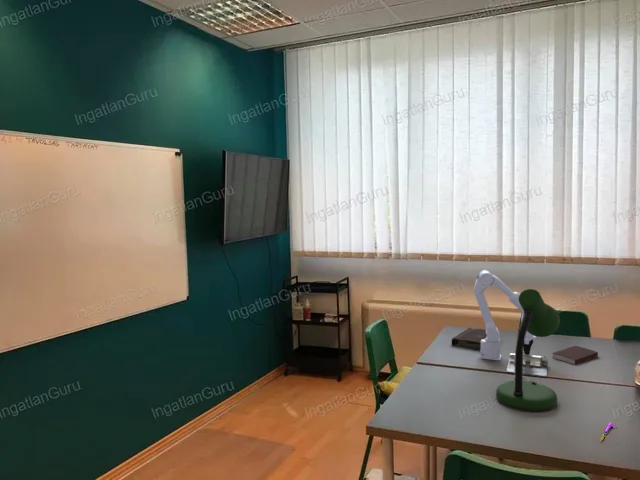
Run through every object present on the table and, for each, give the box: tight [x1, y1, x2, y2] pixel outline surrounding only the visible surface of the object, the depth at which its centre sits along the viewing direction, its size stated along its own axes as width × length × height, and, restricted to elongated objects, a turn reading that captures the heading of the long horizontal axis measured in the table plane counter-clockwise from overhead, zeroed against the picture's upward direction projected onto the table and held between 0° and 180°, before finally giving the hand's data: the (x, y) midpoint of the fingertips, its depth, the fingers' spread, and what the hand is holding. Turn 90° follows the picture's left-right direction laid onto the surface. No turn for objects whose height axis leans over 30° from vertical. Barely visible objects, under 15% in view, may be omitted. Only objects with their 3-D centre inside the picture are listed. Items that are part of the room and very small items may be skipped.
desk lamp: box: [495, 288, 561, 414], centre depth 207 cm, size 31×23×45 cm
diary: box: [451, 327, 487, 351], centre depth 284 cm, size 19×25×5 cm
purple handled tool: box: [599, 422, 615, 441], centre depth 178 cm, size 3×1×16 cm
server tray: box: [506, 357, 548, 378], centre depth 243 cm, size 17×20×2 cm
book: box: [551, 345, 599, 365], centre depth 256 cm, size 12×19×3 cm, turn 121°
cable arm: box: [509, 352, 549, 364], centre depth 248 cm, size 17×3×3 cm, turn 66°
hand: (526, 354), depth 254 cm, fingers closed
